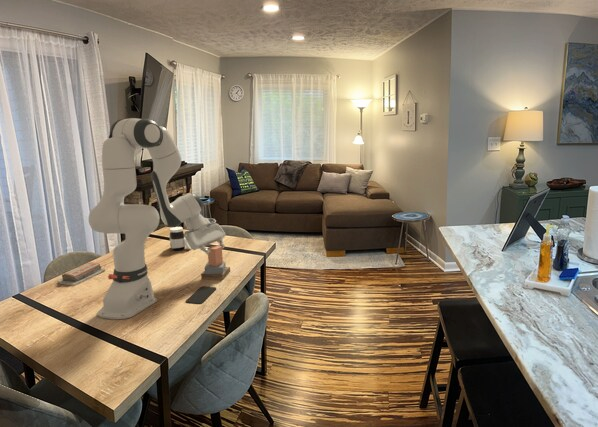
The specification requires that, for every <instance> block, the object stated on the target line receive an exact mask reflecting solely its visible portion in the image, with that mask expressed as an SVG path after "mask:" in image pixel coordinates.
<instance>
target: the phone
mask: <svg viewBox="0 0 598 427" xmlns="http://www.w3.org/2000/svg"><path fill="white" fill-rule="evenodd" d="M216 291H217V287H215V286H204V285H203V286H200V287H198V289H197V290H196V291H194V292H193V293H192V294H191V295H190V296H189V297H188V298H187V299H186V300H185V301H184V302H185V303H187V304H193V305H202V304H203V303H205V302H206V301H207V300H208V298H210V296H212V295H213V293H215V292H216Z"/></svg>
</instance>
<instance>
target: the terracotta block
mask: <svg viewBox="0 0 598 427" xmlns="http://www.w3.org/2000/svg"><path fill="white" fill-rule="evenodd" d="M207 249H210V251H211V253H210V254H208V255H207V260H208V261H207V262H208V263H209V265H212V266H218V265H220V264H222V263H223V258H224V257H223V248H222V247H221V246H220V245H216V244H215V245H212V246H209V247H207Z"/></svg>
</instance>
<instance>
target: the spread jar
mask: <svg viewBox="0 0 598 427" xmlns="http://www.w3.org/2000/svg"><path fill="white" fill-rule="evenodd" d="M183 230H184V227H182V226H177V227H169V245H170V249H171V250H172V251H175V252H176V251H177V252H178V251H182V250H184V249H185V248H186V249H187V250H192V249H191V247H190V246H189V244H188V242H187V240H186V238H185V237H184V233H185V231H183Z"/></svg>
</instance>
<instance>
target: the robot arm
mask: <svg viewBox="0 0 598 427" xmlns="http://www.w3.org/2000/svg"><path fill="white" fill-rule="evenodd" d="M108 135H109V136H108V138H106V139H105V140H104V142H102V147H101V148H102V149H101V166H102V174H103V192H102V196H101V198H100V200H99V202H98V203H97V205H95V206H94V207H93V208H92V209H91V210H90V212H89V213H88V223H89V224H88V225H89V226H90V228H91V229H92V230H93V231H95V232H96V233H97V232H98V233H102V234H125V235H124V236H125V239H124V241H123V240H122V241H121V242H119V243H118V244H117V245H116V246H115V247H114V248H113V251H112V256H113V264H114V269H113V272H112V273H113V274H112V273H110V274H108V275H107V278H108V280H112V283H111V284H110V286H109V288H108V289H107V291H106V292H105V295H104V296H103V299H102V300H103V301H102V302H103V303H102V307H101V308H100V309H99V310H98V311H97V312H96V316H97V317H99V318H101V319H102V318H103V319H109V320H124V319H130V318H132V317H134V316H136V315H137V314H138V313H141V312H143V310H146V309H147V308H148V307H150V306H152V305H154V304H155V303H156V302H157V301H158V299H157V297H156V296H154V290H153V286H152V281H151V280H150V278H149V276H148V273H149V272H148V265H147V264H146V257H145V248H146V247H145V244H146V241H147V239H148V238H149V236H150V235H151V234H152V233H153V232H154V231H155V230H156V229H157V228H158V226H159V224H160V219H161V220H162V222H163V223H164V225H165V226H167V227H169V228H173V227H179V225H181V224H182V223H184V224H185V227H186V229H187V231H184V238H186V240H187V242H188V244H189V246H190V247H191V249H190V250H193V251H196V250H201V251H202V252H204V253H205V254H206V255H207V256H208V254H210V253H211V251H210V249H208V247H206V246H209V245H210V244H213V243H216V242H217V243H218V244H219V246H221V247H222V249H224V248H225V247H226V245H225V243H224V238H225V237H226V232H225V231H224V229H223V228H222V226H220V224H219V223H217V220H216V219H215V218H207V217H204V216H203V215H202V213H201V212H202V209H203V207H204V206H203V205H204V203H203V201H202V200H201V198H200V197H199V196H198V194H196V193H193V192H188V193H186V194H185V195H181V196H179V197H177V198H175V200H174V201H172V202H171V203H170V199H169V197H168V193H167V184H168V183H169V182H170V180H171V179H172V177H173V176H175V174H176V173H177V172H178V171H179V170H180V167H181V164H182V156H181V153H180V151H179V148H178V146H177V144H176V142H175V140H174V139H173V136H172V135H171V133H170V132H169V131H168V129H167V128H165V127H164V126H162V125H161V126H160V125H159V124H158V123H157V122H156V121H154V120H152V119H149V118H136V117H131V118H123V119H122V118H121V119H118V120H116V121H114V122H113V123H112V124H111V126H110V129H109V134H108ZM144 148H145V149H147V151H148V152H149V155H150V158H151V160H152V162H153V163H152V164H153V170H152V171H151V173H150V178H151V183H152V188H153V191H154V194H155V198H156V202H157V205H158V210H159V211H158V210H157V209H156V207H155V206H152V205H148V204H142V203H139V204H137V203H136V204H135V203H134V204H133V203H132V204H129V203H128V204H125V201H124V200H125V198H126V197H127V196H128V195H130V194H132V193H133V192H134V191H135V190H136V189H137V185H138V182H137V173H136V163H135V157H134V156H135V152H136V149H144Z"/></svg>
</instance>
